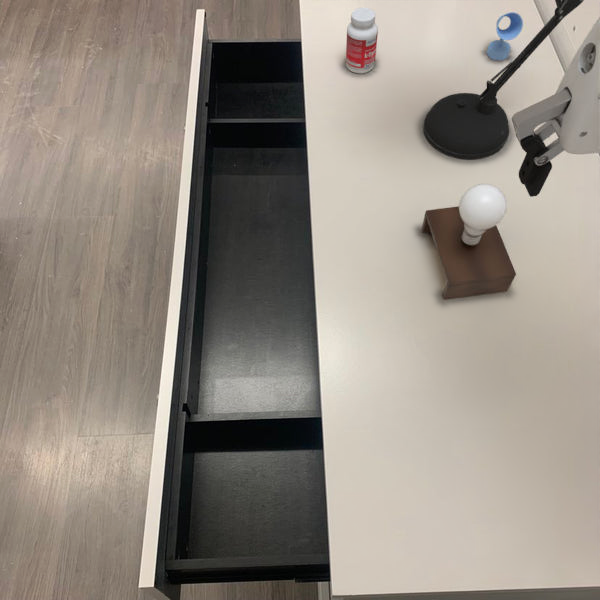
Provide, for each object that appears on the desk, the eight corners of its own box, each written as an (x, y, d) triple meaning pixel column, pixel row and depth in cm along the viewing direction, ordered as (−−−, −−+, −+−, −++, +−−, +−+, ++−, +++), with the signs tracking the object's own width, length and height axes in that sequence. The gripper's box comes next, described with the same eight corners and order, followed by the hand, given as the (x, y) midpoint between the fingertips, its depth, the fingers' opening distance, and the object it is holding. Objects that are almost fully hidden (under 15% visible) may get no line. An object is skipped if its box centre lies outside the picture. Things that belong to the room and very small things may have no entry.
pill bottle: (366, 77, 110) (369, 26, 100) (340, 69, 112) (341, 18, 102) (380, 61, 112) (384, 10, 103) (354, 53, 114) (356, 2, 105)
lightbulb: (465, 218, 83) (482, 167, 74) (499, 240, 81) (522, 190, 71) (439, 241, 81) (454, 192, 72) (474, 265, 79) (494, 216, 69)
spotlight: (511, 65, 110) (508, 45, 113) (526, 18, 101) (523, -2, 105) (486, 64, 110) (484, 44, 114) (500, 18, 102) (497, -2, 105)
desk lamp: (375, 158, 98) (406, -142, 59) (420, 75, 109) (470, -221, 71) (508, 196, 91) (639, -111, 53) (541, 104, 103) (667, -203, 65)
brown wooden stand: (479, 221, 89) (487, 202, 85) (507, 291, 82) (516, 274, 77) (421, 229, 89) (425, 210, 84) (443, 299, 81) (449, 282, 77)
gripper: (577, 46, 33) (501, 220, 48) (841, 14, 34) (686, 197, 49) (535, -18, 37) (476, 162, 52) (772, -45, 38) (648, 141, 52)
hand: (578, 179), depth 50 cm, fingers open, 9 cm apart
